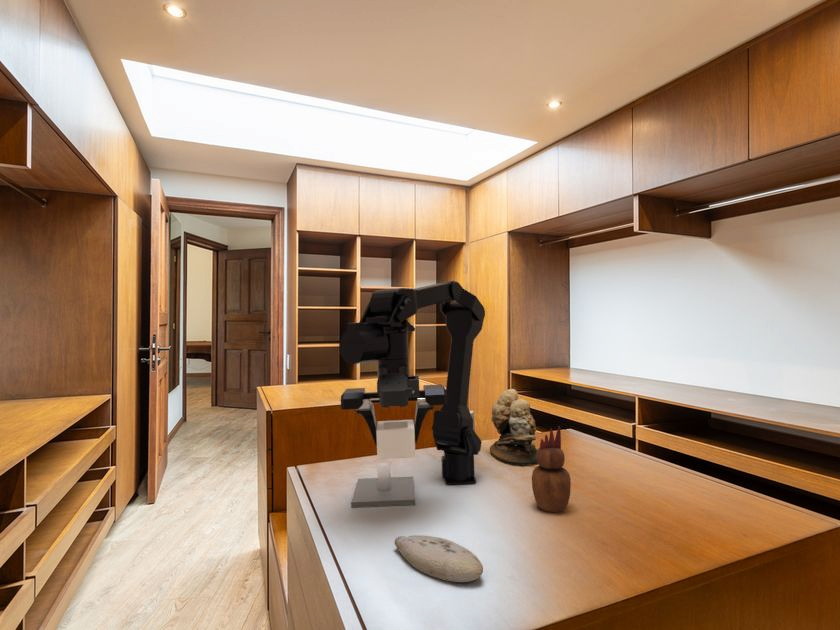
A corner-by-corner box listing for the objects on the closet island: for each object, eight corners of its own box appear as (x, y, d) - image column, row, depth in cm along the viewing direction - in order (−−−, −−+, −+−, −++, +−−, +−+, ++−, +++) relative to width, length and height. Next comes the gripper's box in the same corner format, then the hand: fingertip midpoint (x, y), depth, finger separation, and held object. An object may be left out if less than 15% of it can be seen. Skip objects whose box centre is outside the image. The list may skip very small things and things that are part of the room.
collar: (414, 446, 82) (413, 419, 82) (415, 457, 76) (414, 428, 76) (379, 447, 82) (378, 421, 82) (377, 459, 75) (376, 430, 75)
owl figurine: (555, 465, 102) (553, 393, 102) (508, 471, 100) (505, 396, 100) (522, 443, 120) (519, 381, 120) (481, 448, 117) (479, 384, 117)
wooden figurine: (571, 503, 81) (568, 423, 81) (571, 517, 76) (568, 431, 76) (534, 499, 83) (531, 421, 83) (531, 513, 78) (528, 429, 78)
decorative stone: (408, 542, 70) (407, 520, 70) (495, 574, 60) (494, 549, 60) (382, 559, 65) (381, 536, 65) (472, 598, 55) (471, 571, 55)
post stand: (413, 481, 95) (412, 453, 95) (414, 504, 83) (413, 473, 83) (358, 483, 94) (357, 455, 94) (351, 507, 82) (350, 475, 82)
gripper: (334, 365, 70) (338, 462, 70) (449, 360, 71) (452, 455, 71) (343, 358, 81) (346, 441, 82) (442, 354, 82) (445, 436, 83)
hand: (396, 444), depth 79 cm, fingers closed on collar, 7 cm apart
